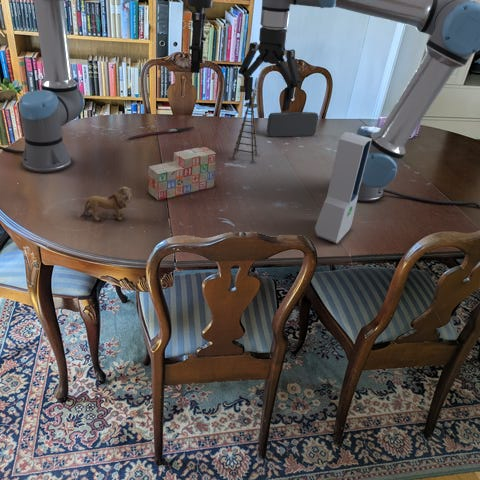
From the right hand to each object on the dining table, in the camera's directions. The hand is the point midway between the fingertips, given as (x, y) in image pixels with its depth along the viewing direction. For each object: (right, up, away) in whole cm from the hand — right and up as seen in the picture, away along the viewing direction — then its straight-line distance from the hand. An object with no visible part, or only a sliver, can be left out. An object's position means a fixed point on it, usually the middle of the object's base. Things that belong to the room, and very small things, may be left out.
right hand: (266, 104), depth 139 cm
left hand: (-22, +14, +8) cm, 27 cm away
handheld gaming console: (+15, +6, +67) cm, 68 cm away
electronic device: (+20, -38, -1) cm, 43 cm away
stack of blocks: (-27, -24, +14) cm, 39 cm away
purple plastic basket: (+66, +10, +81) cm, 105 cm away
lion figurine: (-46, -34, -5) cm, 57 cm away
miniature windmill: (-6, -8, +41) cm, 43 cm away
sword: (-40, +3, +54) cm, 67 cm away
